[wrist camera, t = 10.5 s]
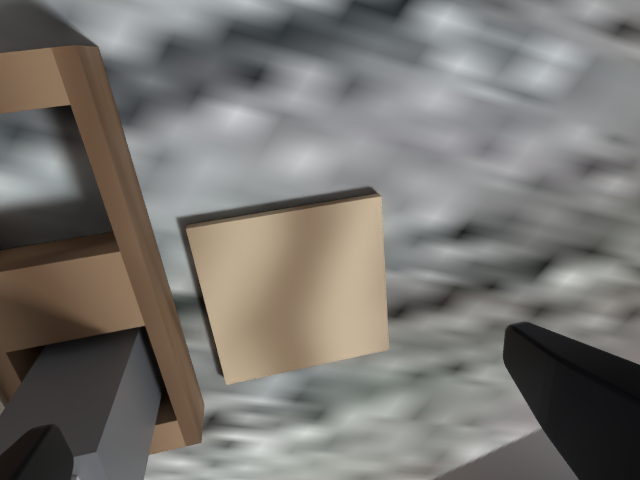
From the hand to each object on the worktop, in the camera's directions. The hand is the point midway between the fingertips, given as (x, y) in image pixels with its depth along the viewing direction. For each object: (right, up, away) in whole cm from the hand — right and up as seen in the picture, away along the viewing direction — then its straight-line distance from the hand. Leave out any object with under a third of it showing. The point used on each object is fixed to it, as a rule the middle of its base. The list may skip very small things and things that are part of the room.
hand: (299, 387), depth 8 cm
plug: (-10, -3, +12) cm, 16 cm away
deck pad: (-1, 0, +13) cm, 13 cm away
